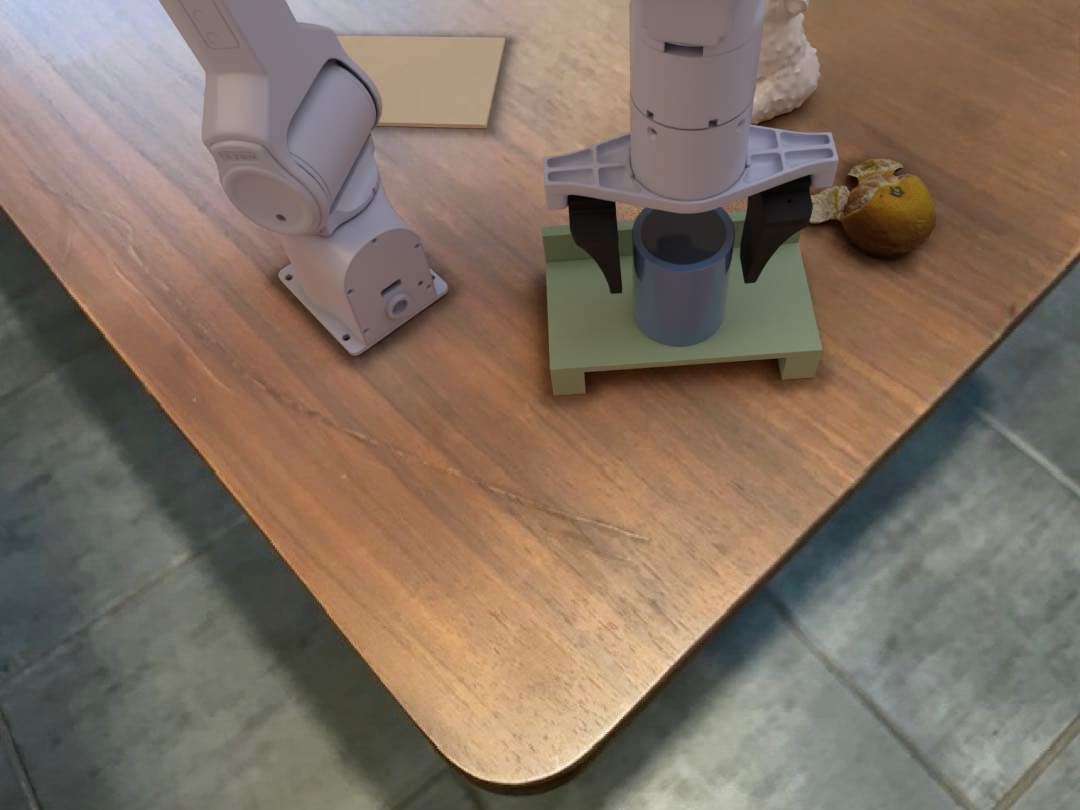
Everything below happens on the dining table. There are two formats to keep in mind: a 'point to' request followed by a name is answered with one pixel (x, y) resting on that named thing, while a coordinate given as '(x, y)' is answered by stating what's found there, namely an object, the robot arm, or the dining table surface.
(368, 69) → the mat
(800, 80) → the seated beast figurine
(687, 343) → the cup
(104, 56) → the dining table surface
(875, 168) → the fruit
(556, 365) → the shelf
